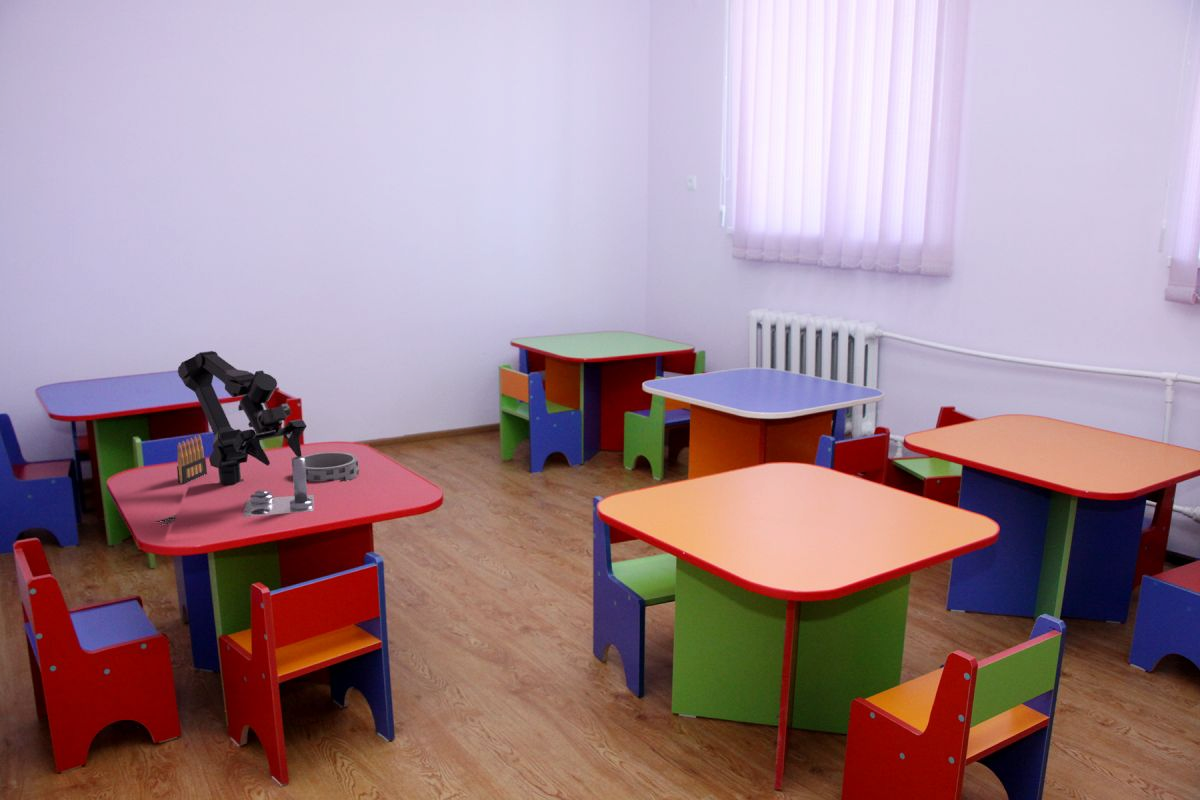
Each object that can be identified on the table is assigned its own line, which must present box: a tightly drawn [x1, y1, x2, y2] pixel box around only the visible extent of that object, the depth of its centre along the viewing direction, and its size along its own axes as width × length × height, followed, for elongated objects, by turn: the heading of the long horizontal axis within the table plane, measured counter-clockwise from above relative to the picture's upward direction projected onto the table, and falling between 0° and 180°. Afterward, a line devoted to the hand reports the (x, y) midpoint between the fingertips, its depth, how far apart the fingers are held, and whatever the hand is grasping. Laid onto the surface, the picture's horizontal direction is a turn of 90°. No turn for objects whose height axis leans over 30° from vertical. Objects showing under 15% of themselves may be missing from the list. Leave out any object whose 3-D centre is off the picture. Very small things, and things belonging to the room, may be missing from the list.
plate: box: [242, 494, 315, 518], centre depth 245 cm, size 14×17×1 cm
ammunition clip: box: [176, 434, 208, 485], centre depth 271 cm, size 11×2×12 cm, turn 167°
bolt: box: [290, 456, 313, 510], centre depth 242 cm, size 6×6×13 cm
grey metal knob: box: [250, 489, 274, 504], centre depth 248 cm, size 6×6×2 cm
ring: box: [302, 451, 360, 483], centre depth 274 cm, size 18×18×5 cm
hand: (284, 460), depth 245 cm, fingers open, 9 cm apart
